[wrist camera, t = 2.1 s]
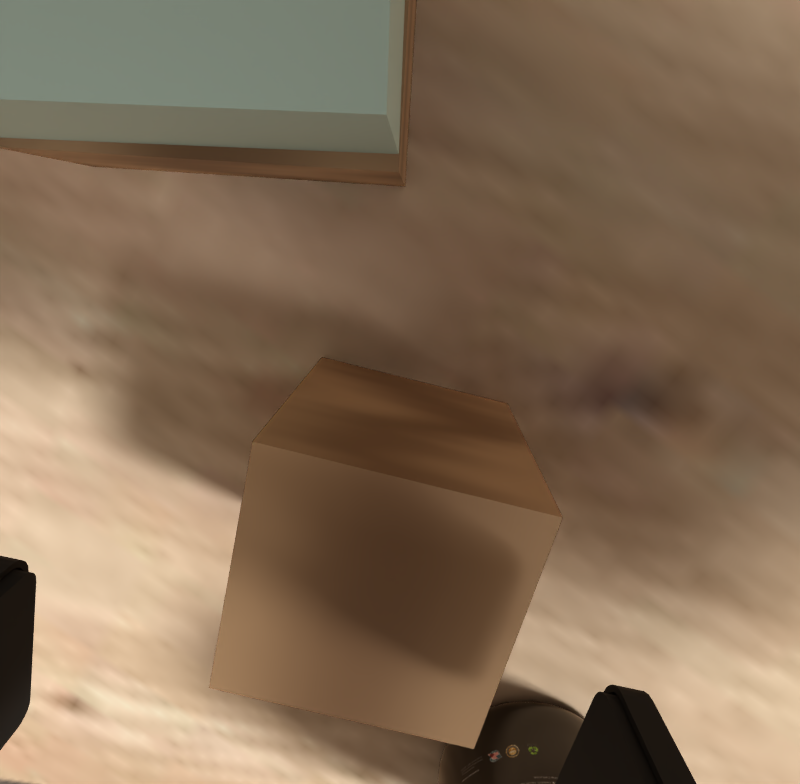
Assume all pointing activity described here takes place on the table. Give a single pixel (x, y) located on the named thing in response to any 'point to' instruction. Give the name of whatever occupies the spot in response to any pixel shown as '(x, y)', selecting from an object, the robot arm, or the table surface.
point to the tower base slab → (247, 149)
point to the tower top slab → (204, 72)
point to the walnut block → (384, 554)
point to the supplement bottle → (514, 746)
